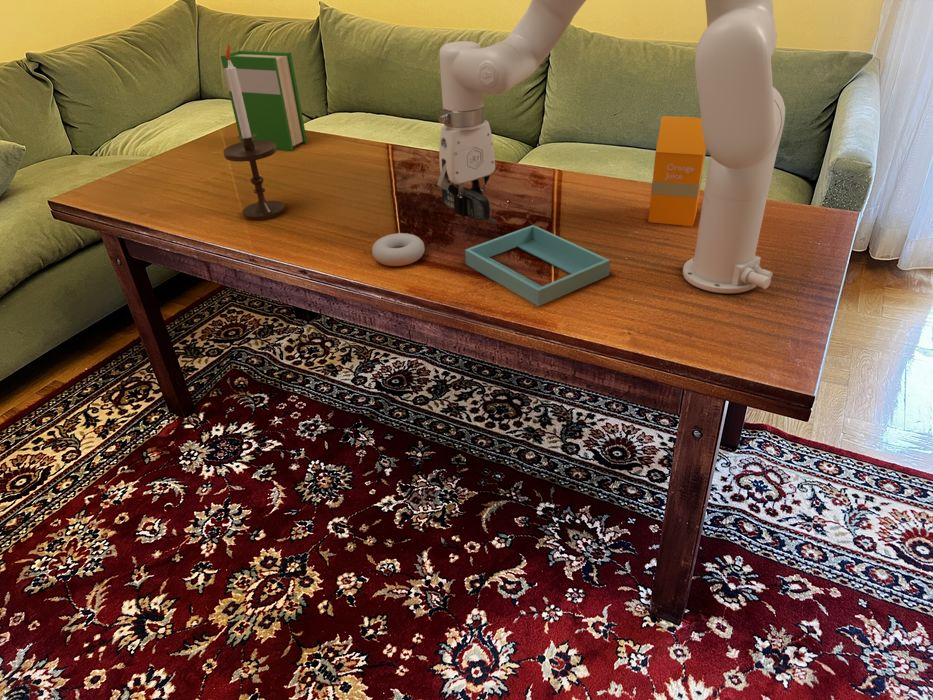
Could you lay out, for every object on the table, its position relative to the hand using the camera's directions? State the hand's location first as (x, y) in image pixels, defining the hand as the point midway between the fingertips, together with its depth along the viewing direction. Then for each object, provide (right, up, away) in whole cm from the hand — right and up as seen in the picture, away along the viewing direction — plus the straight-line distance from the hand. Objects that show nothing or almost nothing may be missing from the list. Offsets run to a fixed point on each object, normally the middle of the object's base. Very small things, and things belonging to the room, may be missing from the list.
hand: (468, 211), depth 133 cm
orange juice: (+42, 0, +5) cm, 42 cm away
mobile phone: (0, -1, 0) cm, 1 cm away
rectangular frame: (+12, -13, -11) cm, 21 cm away
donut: (-13, -10, -4) cm, 17 cm away
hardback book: (-56, +32, +61) cm, 88 cm away
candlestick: (-46, +3, +19) cm, 49 cm away
